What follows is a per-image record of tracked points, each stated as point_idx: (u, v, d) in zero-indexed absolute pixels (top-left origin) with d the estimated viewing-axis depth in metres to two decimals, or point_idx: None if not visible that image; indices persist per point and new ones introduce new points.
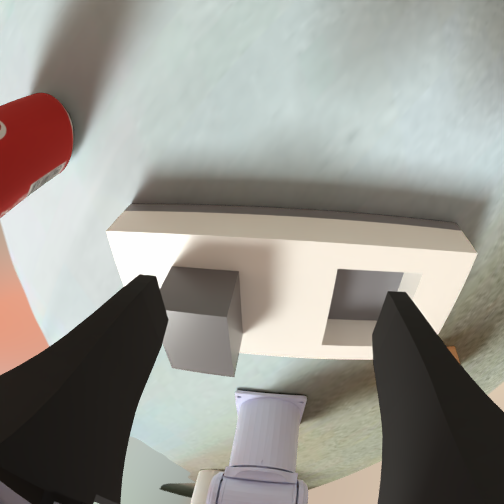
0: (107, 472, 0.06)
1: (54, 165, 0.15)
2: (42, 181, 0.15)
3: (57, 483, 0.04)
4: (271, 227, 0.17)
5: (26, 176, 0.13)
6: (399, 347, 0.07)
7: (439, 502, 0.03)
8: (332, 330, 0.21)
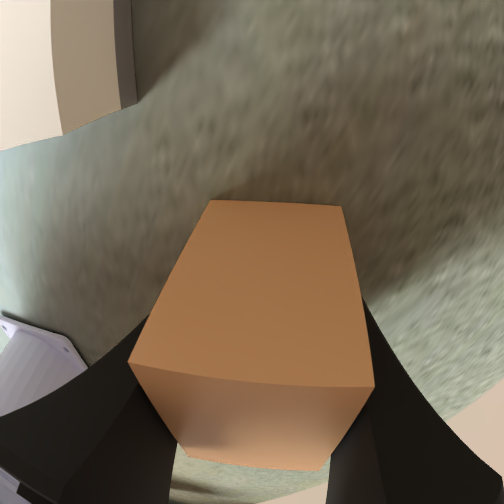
0: (158, 489, 0.06)
1: None
2: None
3: None
4: None
5: None
6: None
7: None
8: None
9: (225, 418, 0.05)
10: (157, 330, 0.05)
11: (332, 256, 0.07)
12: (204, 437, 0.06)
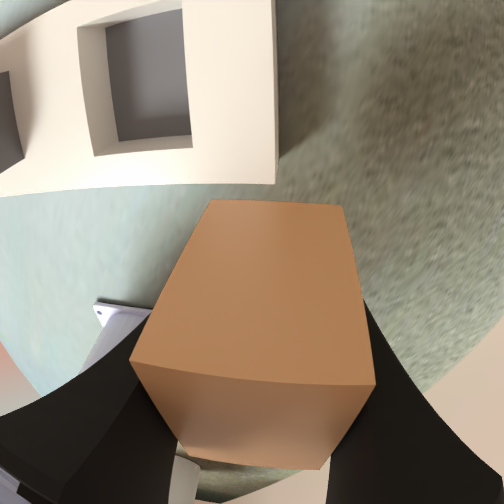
0: (158, 489, 0.06)
1: None
2: None
3: None
4: None
5: None
6: None
7: None
8: (121, 146, 0.14)
9: (226, 416, 0.05)
10: (159, 328, 0.05)
11: (333, 255, 0.07)
12: (205, 436, 0.06)
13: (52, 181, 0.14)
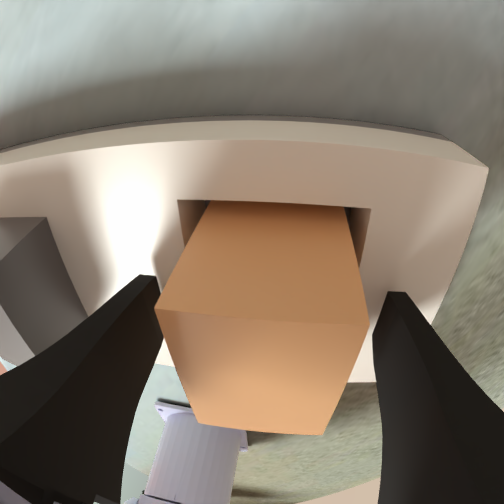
0: (107, 472, 0.06)
1: None
2: None
3: (57, 483, 0.04)
4: (82, 141, 0.09)
5: None
6: (399, 347, 0.07)
7: (439, 502, 0.03)
8: None
9: (238, 366, 0.06)
10: (180, 282, 0.06)
11: (330, 227, 0.08)
12: (216, 394, 0.07)
13: None
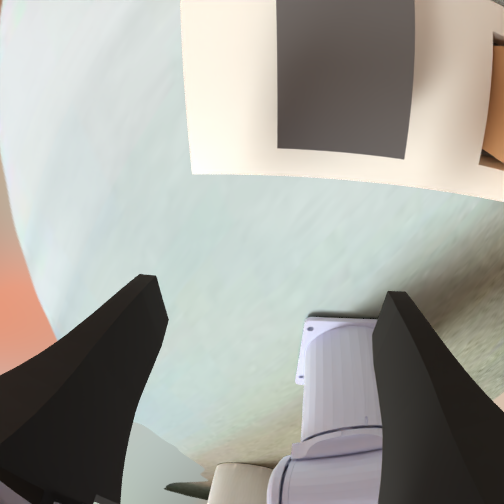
0: (107, 472, 0.06)
1: None
2: None
3: (57, 483, 0.04)
4: None
5: None
6: (399, 347, 0.07)
7: (439, 502, 0.03)
8: None
9: None
10: None
11: None
12: None
13: (413, 174, 0.12)
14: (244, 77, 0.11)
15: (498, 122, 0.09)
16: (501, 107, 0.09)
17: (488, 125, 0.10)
